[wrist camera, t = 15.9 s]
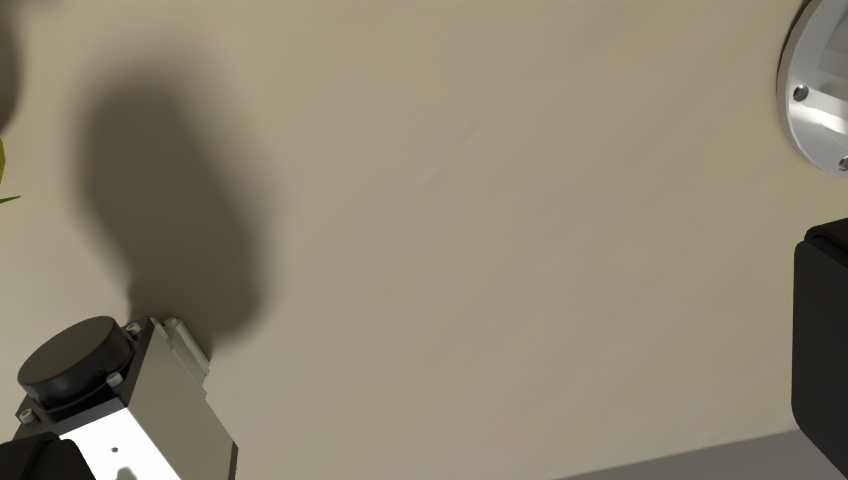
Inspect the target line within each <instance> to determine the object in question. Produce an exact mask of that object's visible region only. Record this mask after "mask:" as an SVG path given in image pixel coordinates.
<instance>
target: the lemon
mask: <svg viewBox="0 0 848 480" xmlns="http://www.w3.org/2000/svg"><path fill="white" fill-rule="evenodd" d="M4 165H5V155H4V149H3V143H2V141H1V139H0V183H1V179H2V175H3V170H4ZM19 197H21V196H17V197H12V198H6V199H0V204H1V203H3V202H6V201H10V200H13V199H17V198H19Z"/></svg>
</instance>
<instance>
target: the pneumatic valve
mask: <svg viewBox="0 0 848 480" xmlns="http://www.w3.org/2000/svg"><path fill="white" fill-rule="evenodd" d="M164 323H165V325H166V326H164V327H162V326H161V325H160V324H159V322H158V321H157V320H156V319H155V318H151V317H150V318H149V316H147V317H144V318H142V319H140V320H137V321H135V322H133V323H130V324H128V325H125V326H123V327H121V328H120V326H119V325H118V323H117V322H116V321H115V319H114V318H112V317H109V316H98V317H93V318H90V319H87V320H84V321H82V322H79V323H77V324H75V325H73V326H71V327H69V328H67V329H65V330H63V331H62V332H60V333H59V334H57V335H55V336H54V337H52V338H51V339H50V340H48V341H47V342H46V343H44V344H43V345H42V346H40V347H39V348H38V349H37V350H36V351H35V352H34V353H33V354H32V355H31V356H30V357H29V358H28V359H27V360H26V361H25V363H24V364H23V365H22V367H21V368H20V370H19V373H18V376H17V380H18V383H19V384H20V385H21V386H22V388H23V389H24V390H25V391H26V392H27V395H26V396H25V398H24V400H23V402H22V404H21V405H20V407H19V409H18V411H17V413H16V414H15V416H16V417H17V418H18V419H19V421H20V422H21V424H20V426H19V428H18V430H17V432H16V434H15V436H14V438H13V439H12V441H13V440H17V439H20V438H24V437H28V436H32V435H35V434H39V433H43V432H47V431H50V432H54V433H55V434H57V435H58V436H59V437H60V438H61V440H63V439H66V438H67V439H72V440H73V441H74V442H75V443H76V444H77V446H78V447H79V449H80V451H81V453H82V454H83V456H84V458H85V460H86V462H87V463H88V465H89V467H90V469H91V471H92V472H93V474H94V476H95V478H96V480H235V474H236V470H237V466H236V465H237V456H238V447H237V445H236V444H235V442H234V441H233V439H232V438H231V437H230V435H229V434H228V432H227V431H226V429H225V428H224V426H223V425H222V423H221V422H220V420H219V419H218V417H217V416H216V415H215V413H214V412H213V410H212V409H211V407H210V406H209V404H208V403H207V401H206V400H205V397H206V394H207V393H206V391H205V390H204V388H203V387H202V384H203V382H204V378H205V377H206V376H207V375H208V374H209V372H210V370H209V369H208V367H209V365H210V363H209V362H208V360H207V359H206V357H205V355H204V354H203V352H202V351H201V349H200V348H199V346H198V345H197V343H196V342H195V340H194V339H193V337H192V336H191V334H190V333H189V331H188V330H187V328H186V327H185V325H184V324H183V322H182V321H181V319H175V318H174V317H170V318H168V319H167V320H166V321H165V322H164Z"/></svg>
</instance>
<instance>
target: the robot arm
mask: <svg viewBox="0 0 848 480" xmlns="http://www.w3.org/2000/svg"><path fill="white" fill-rule="evenodd" d="M777 105H778V112H779V119H780V121H781V124H782V127H783V130H784V132H785V135H786V137H787V139H788V140H789V142H790V143H791V144H792V146H793V147H794V149H795V150H796V152H798V153H799V154H800V155H801V156H802V157H803V158H804V159H805V160H806V161H808V162H809V163H811V164H813V165H814V166H816V167H818V168H820V169H821V170H823V171H825V172H827V173H830V174H832V175H835V176H837V177H841V178H848V0H811V2H810V3H809V4H808V5H807V7H806V8H805V9H804V11H803V13H802V15H801V16H800V18H799V20H798V21H797V23H796V25H795V27H794V28H793V30H792V32H791V35H790V37H789V40H788V42H787V45H786V47H785V50H784V52H783V56H782V60H781V64H780V69H779V73H778V81H777ZM791 405H792V411H793V415H794V418H795V420H796V422H797V424H798V426H799V428H800V429H801V430H802V432H803V433H804V434H805V435H806V436H807V437H808V438H809V439H810V440H811V441H812V442H813V444H815V446H816V447H817V448H818V449H819V450H820V451H821V452H822V453H823V454H824V455H825V456H826V457H827V458H828V459H829V460H830V461H831V463H833V465H834V466H835V467H836V468H837V469H838V470H839V471H840V472H841V473H842V474H843V475H844V476H845V477H846V478H847V480H848V218H844V219H840V220H837V221H833V222H829V223H825V224H822V225H818V226H814V227H812V228H810V229H809V230H808V231H807V233H806V235H805V237H804V241H802V242H800V243H798V244H797V246H796V248H795V253H794V293H793V344H792V395H791ZM0 480H96V478H95V476H94V474H93V472H92V471H91V469H90V467H89V465H88V463H87V462H86V460H85V458H84V456H83V454H82V453H81V451H80V449H79V447H78V446H77V444H76V443H75V442H74V441H73V440H72V439H67V438H66V439H63V440H61V438H60V437H59V436H58V435H57V434H55V433H54V432H50V431H47V432H43V433H39V434H35V435H32V436H28V437H24V438H20V439H17V440H13V441H9V442H5V443H3V444H1V445H0Z"/></svg>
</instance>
